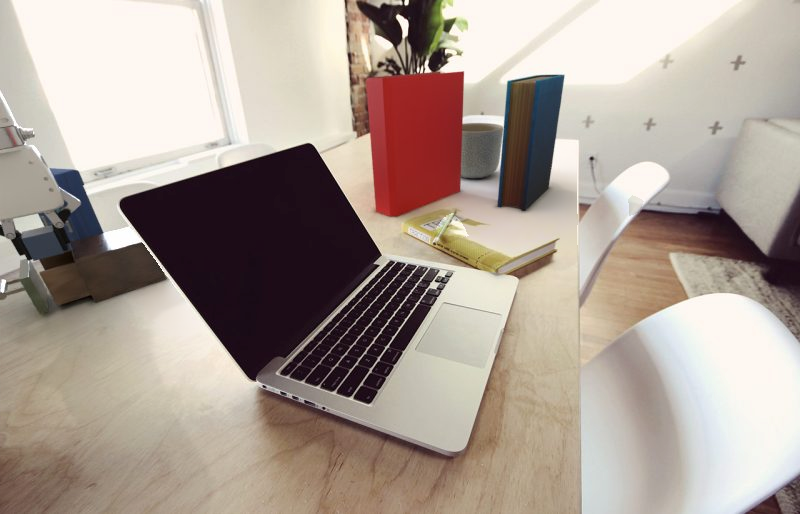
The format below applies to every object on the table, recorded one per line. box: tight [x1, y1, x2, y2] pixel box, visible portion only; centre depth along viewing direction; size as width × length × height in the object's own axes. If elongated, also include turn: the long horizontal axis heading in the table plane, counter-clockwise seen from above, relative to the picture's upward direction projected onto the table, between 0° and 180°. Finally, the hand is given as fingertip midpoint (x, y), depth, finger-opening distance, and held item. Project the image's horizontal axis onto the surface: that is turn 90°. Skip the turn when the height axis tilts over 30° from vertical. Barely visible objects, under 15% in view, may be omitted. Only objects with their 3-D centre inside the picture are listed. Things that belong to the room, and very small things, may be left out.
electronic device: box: [37, 167, 105, 250], centre depth 75 cm, size 10×5×20 cm, turn 73°
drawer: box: [0, 249, 92, 315], centre depth 66 cm, size 14×9×7 cm, turn 131°
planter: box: [461, 122, 504, 180], centre depth 124 cm, size 17×17×15 cm
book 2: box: [497, 74, 566, 212], centre depth 101 cm, size 24×9×30 cm, turn 146°
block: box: [21, 225, 64, 262], centre depth 63 cm, size 4×4×4 cm
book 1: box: [365, 70, 465, 217], centre depth 100 cm, size 27×8×32 cm, turn 135°
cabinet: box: [70, 226, 167, 303], centre depth 72 cm, size 11×10×8 cm
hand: (48, 251), depth 64 cm, fingers closed on block, 4 cm apart
